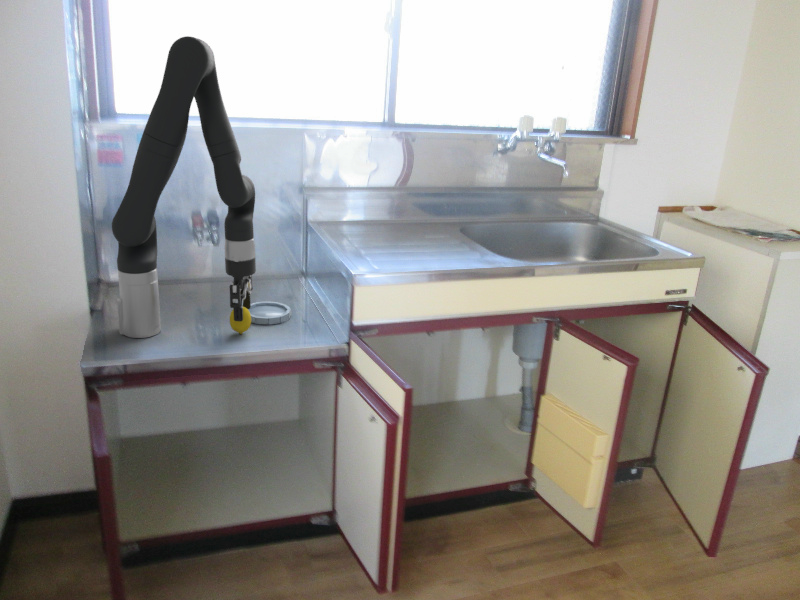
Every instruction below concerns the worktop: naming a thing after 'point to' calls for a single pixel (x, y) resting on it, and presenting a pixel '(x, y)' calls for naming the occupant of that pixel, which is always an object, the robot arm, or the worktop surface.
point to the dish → (269, 312)
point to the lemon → (241, 325)
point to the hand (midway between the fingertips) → (242, 314)
